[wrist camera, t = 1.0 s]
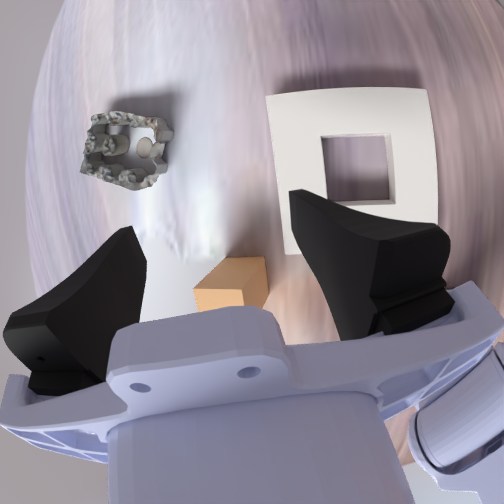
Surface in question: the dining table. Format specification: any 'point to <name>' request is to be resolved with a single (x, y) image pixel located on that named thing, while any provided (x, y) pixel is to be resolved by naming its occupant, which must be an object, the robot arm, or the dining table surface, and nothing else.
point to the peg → (233, 284)
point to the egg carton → (124, 149)
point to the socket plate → (352, 125)
